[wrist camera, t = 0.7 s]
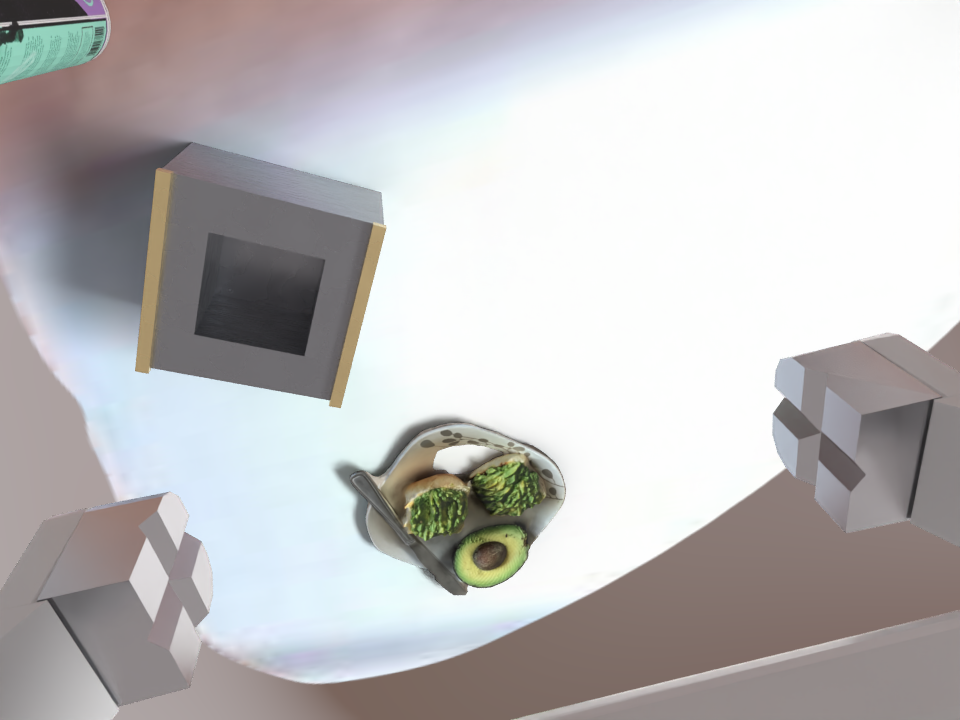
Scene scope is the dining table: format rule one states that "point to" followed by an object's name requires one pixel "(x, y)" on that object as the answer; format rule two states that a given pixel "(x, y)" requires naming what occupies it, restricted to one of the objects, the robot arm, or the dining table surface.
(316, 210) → the socket block
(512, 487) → the salad plate
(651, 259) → the dining table surface
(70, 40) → the spray can
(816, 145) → the dining table surface
